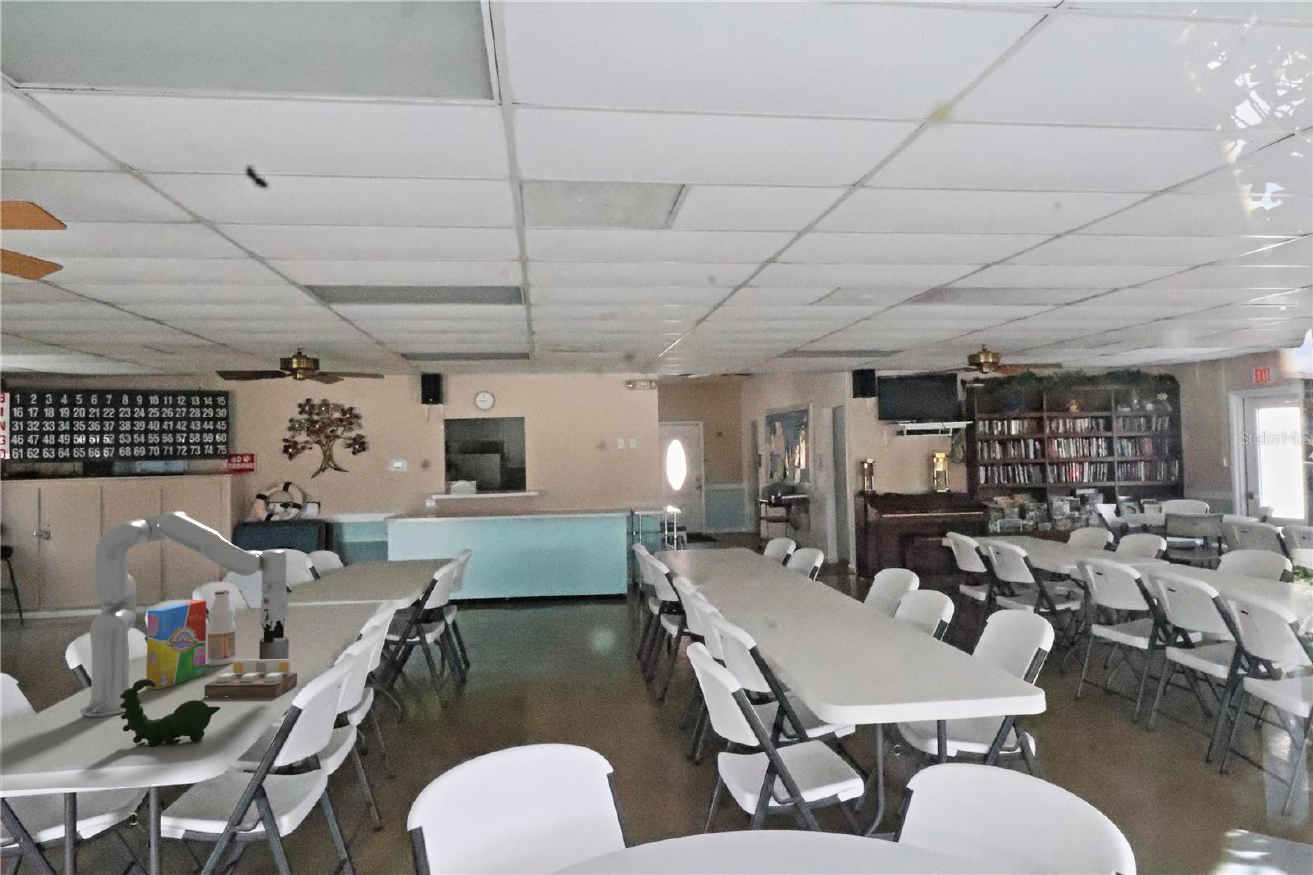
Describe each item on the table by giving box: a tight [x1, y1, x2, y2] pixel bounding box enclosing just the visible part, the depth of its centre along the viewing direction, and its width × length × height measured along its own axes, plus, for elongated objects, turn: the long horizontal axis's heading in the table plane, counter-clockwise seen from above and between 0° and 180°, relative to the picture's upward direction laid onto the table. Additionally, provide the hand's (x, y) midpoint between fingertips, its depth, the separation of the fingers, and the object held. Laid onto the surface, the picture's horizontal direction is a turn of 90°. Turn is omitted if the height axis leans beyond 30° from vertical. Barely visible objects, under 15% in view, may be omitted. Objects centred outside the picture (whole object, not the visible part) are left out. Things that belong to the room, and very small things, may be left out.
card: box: [232, 658, 291, 675], centre depth 262 cm, size 1×20×5 cm, turn 89°
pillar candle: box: [258, 635, 290, 659], centre depth 274 cm, size 10×10×15 cm
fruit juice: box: [207, 589, 237, 666], centre depth 294 cm, size 9×9×28 cm
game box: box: [145, 599, 207, 690], centre depth 269 cm, size 21×6×27 cm, turn 168°
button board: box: [204, 672, 298, 698], centre depth 256 cm, size 14×24×4 cm, turn 89°
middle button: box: [241, 673, 259, 682], centre depth 255 cm, size 4×4×2 cm
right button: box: [265, 673, 283, 682], centre depth 255 cm, size 4×4×2 cm
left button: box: [217, 672, 236, 682], centre depth 255 cm, size 4×4×2 cm
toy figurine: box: [120, 678, 221, 747], centre depth 209 cm, size 9×19×25 cm
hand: (273, 639), depth 255 cm, fingers open, 5 cm apart
